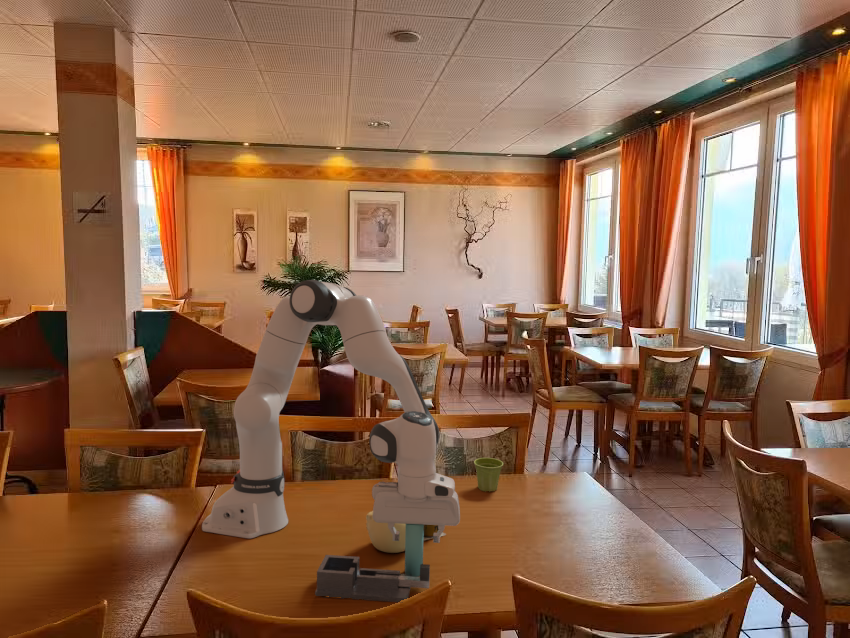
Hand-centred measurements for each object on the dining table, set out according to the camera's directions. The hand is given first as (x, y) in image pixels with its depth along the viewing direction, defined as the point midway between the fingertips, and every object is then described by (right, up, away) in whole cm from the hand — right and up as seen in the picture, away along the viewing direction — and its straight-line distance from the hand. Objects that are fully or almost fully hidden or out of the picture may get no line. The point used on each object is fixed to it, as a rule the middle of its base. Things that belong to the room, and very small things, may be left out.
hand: (416, 540), depth 144 cm
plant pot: (+22, -3, +55) cm, 59 cm away
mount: (-11, -8, -7) cm, 15 cm away
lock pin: (-3, -7, -7) cm, 11 cm away
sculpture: (-7, -6, +13) cm, 16 cm away
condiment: (+2, -6, +21) cm, 22 cm away
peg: (-1, -8, 0) cm, 8 cm away
